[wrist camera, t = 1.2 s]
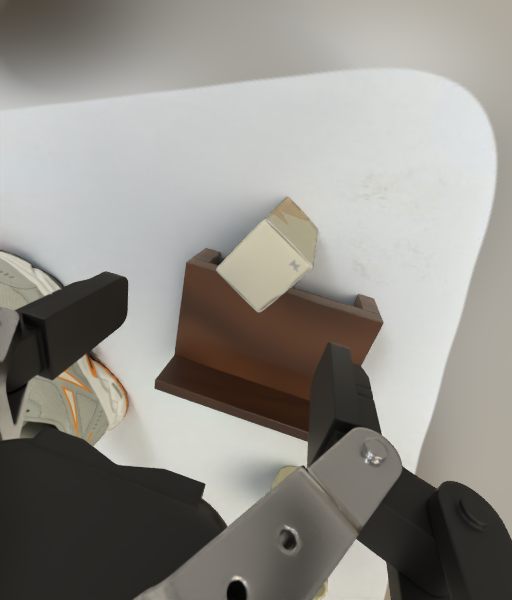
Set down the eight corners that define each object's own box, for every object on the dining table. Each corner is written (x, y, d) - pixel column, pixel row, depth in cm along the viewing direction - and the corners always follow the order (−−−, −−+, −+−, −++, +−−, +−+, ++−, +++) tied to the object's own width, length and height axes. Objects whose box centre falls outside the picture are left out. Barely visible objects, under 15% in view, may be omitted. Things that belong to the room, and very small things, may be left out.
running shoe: (21, 222, 33) (-149, 255, 21) (153, 409, 43) (87, 505, 30) (-31, 256, 37) (-199, 300, 25) (100, 420, 46) (23, 510, 34)
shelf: (206, 247, 30) (164, 277, 22) (374, 298, 29) (394, 349, 21) (191, 338, 35) (154, 388, 27) (332, 384, 34) (335, 451, 26)
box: (288, 195, 26) (268, 213, 16) (319, 229, 27) (318, 266, 17) (249, 234, 28) (212, 271, 19) (279, 265, 29) (258, 316, 19)
